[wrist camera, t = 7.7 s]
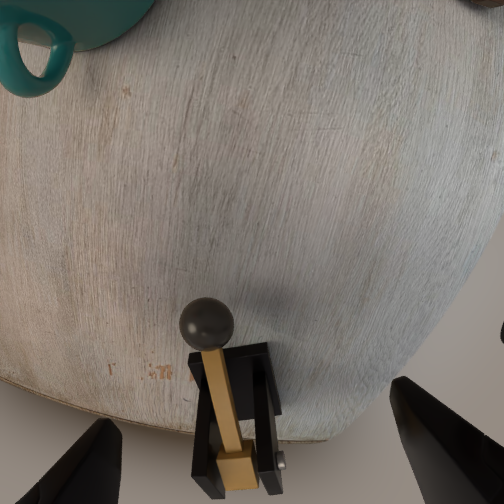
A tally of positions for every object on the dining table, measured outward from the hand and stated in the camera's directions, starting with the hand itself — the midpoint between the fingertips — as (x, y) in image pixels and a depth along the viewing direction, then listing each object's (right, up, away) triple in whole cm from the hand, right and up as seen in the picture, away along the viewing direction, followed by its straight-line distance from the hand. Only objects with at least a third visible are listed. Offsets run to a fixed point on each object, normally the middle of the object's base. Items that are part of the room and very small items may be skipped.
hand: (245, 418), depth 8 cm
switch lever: (-1, -4, +11) cm, 12 cm away
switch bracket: (-1, -6, +16) cm, 17 cm away
